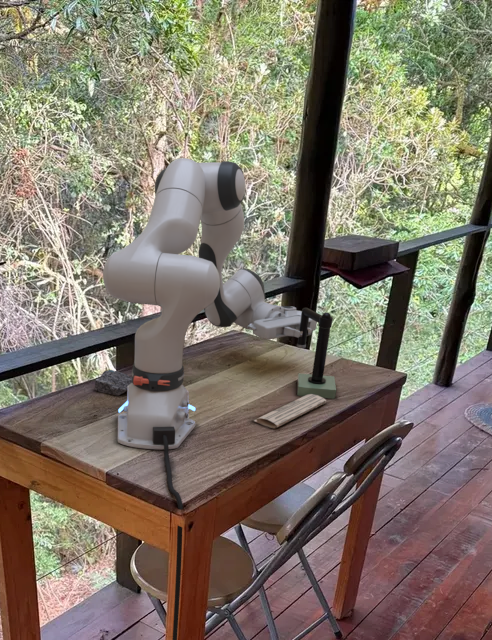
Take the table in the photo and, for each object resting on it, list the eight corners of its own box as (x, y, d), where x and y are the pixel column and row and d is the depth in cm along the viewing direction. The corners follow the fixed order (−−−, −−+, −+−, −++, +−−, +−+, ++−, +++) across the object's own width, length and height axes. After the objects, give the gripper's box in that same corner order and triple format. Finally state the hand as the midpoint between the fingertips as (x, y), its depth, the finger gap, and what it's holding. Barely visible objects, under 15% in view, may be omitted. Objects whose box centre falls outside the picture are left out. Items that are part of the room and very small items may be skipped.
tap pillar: (325, 385, 201) (334, 330, 194) (308, 383, 202) (315, 329, 194) (325, 379, 205) (333, 325, 198) (307, 377, 206) (315, 324, 198)
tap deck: (334, 398, 200) (336, 390, 199) (297, 395, 201) (298, 386, 199) (332, 384, 209) (334, 376, 208) (297, 381, 210) (298, 373, 209)
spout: (329, 359, 200) (336, 313, 193) (318, 360, 198) (324, 314, 192) (304, 345, 210) (310, 301, 203) (293, 346, 208) (299, 301, 202)
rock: (123, 398, 193) (123, 383, 191) (91, 390, 197) (91, 374, 195) (140, 390, 198) (140, 375, 196) (108, 382, 203) (108, 367, 200)
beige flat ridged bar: (276, 429, 180) (277, 423, 179) (252, 421, 184) (253, 414, 183) (326, 404, 196) (327, 398, 195) (302, 397, 200) (303, 391, 199)
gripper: (244, 314, 207) (279, 327, 198) (296, 305, 218) (332, 317, 209) (242, 337, 210) (276, 350, 201) (294, 327, 221) (328, 339, 212)
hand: (305, 333), depth 205 cm, fingers closed on spout, 2 cm apart
